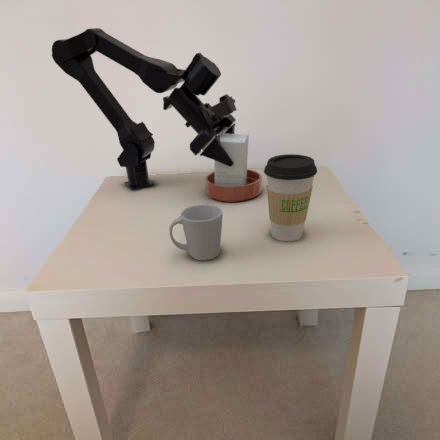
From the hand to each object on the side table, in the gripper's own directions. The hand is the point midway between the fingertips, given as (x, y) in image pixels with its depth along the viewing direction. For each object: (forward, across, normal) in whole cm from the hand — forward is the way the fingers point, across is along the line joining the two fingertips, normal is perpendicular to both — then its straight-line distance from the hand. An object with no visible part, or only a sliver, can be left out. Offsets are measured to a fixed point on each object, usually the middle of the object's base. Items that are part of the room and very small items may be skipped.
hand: (237, 160), depth 98 cm
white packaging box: (+4, 0, +6) cm, 8 cm away
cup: (+8, -33, +4) cm, 34 cm away
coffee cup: (+18, -21, -6) cm, 28 cm away
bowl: (+5, 0, +7) cm, 8 cm away
